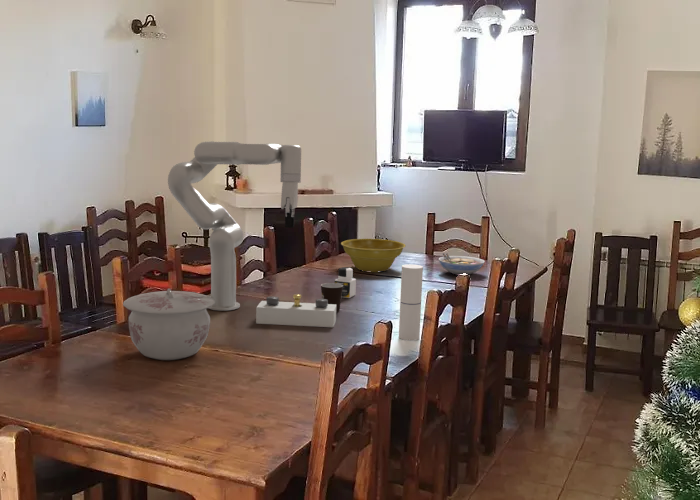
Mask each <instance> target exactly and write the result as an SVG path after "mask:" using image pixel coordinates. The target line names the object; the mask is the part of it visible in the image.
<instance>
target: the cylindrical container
mask: <svg viewBox="0 0 700 500" xmlns="http://www.w3.org/2000/svg"><path fill="white" fill-rule="evenodd" d="M423 273H424V266H423V265H420V264H409V263H408V264H403V265H401V276H400V277H401V278H400V279H401V280H400V281H401V282H400V298H399V322H398V324H399V325H398V338H399V339H400V340H403V341H418V340H420V332H421V316H422V315H421V314H422V313H421V310H422V295H423V294H422V293H423V292H422V291H423V290H422V289H423V277H424V275H423Z"/></svg>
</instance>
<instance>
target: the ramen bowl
mask: <svg viewBox="0 0 700 500" xmlns="http://www.w3.org/2000/svg"><path fill="white" fill-rule="evenodd" d="M442 255H443V256H440V257H439V258H438V262H439V263H440V265H441V267H442V268H443V269H445V271H447V272H449V273H452V274H453V273H454V274H463V273H466V274H469V275H471V274H474V273H476V272H478V271H479V270H480V269H482V268H483V266H484V264H485V262H486V261H485V260H484V259H482V258H478V257H474V256H464V255H449V254H448V253H446V254H445V253H442ZM454 274H453V275H454Z"/></svg>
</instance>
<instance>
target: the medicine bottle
mask: <svg viewBox="0 0 700 500" xmlns="http://www.w3.org/2000/svg"><path fill="white" fill-rule="evenodd" d="M353 271H354V270H353V268H351V267H343V266H342V267H340V268H339V269H338V271H337V272H338V273H337V275H338V276H337V277H338V278H335V279H334V282H333V283H337V284H342V285H343V290H342V296H341V298H343V299H344V298H346V299H350V298H352V297H354V296H356V293H357V292H356V288H357V279H356V278H354V277H353V275H354V274H353V273H354V272H353Z"/></svg>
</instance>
